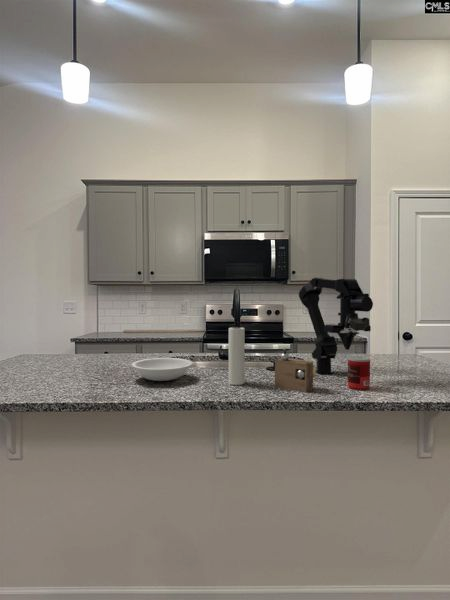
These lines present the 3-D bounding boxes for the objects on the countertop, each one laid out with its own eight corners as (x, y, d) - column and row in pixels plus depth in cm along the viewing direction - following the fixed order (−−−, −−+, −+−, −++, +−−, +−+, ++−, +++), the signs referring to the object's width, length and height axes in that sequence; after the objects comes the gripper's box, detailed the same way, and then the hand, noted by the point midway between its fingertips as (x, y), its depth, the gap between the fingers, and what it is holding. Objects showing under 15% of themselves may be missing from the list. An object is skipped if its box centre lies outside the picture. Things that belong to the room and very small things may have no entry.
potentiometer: (280, 359, 142) (280, 348, 142) (286, 359, 143) (286, 348, 143) (283, 360, 140) (283, 349, 140) (289, 360, 141) (289, 349, 141)
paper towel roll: (239, 386, 143) (239, 328, 142) (225, 384, 146) (225, 327, 146) (248, 382, 149) (248, 327, 149) (235, 380, 152) (235, 326, 152)
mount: (283, 383, 148) (283, 357, 147) (314, 388, 140) (314, 361, 140) (274, 387, 142) (275, 360, 142) (305, 392, 135) (306, 364, 134)
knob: (301, 377, 144) (301, 362, 143) (316, 379, 140) (316, 364, 140) (292, 381, 138) (292, 365, 138) (307, 383, 134) (307, 367, 134)
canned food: (369, 386, 144) (369, 356, 144) (370, 391, 137) (370, 360, 136) (347, 384, 147) (348, 355, 146) (347, 389, 139) (347, 359, 139)
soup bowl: (205, 379, 154) (205, 362, 154) (156, 390, 137) (156, 372, 136) (167, 370, 171) (167, 355, 170) (119, 379, 153) (119, 363, 153)
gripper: (341, 312, 142) (341, 354, 143) (381, 311, 149) (380, 351, 150) (323, 310, 153) (323, 349, 153) (361, 309, 160) (360, 347, 160)
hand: (347, 349), depth 154 cm, fingers closed
